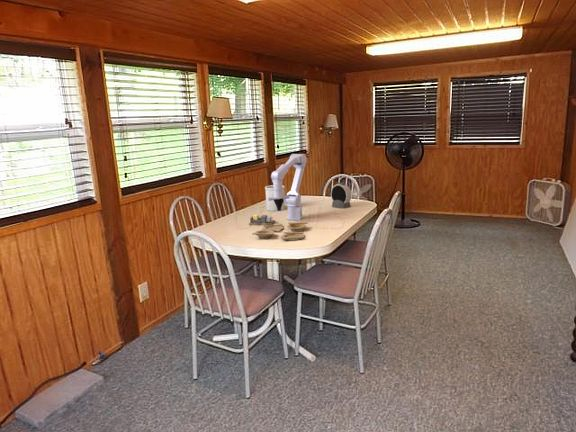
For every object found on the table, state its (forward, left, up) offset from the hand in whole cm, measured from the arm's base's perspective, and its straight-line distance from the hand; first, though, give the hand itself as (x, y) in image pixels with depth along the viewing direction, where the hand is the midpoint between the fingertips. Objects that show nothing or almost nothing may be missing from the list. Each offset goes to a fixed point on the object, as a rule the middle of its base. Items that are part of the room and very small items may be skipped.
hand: (279, 210), depth 271 cm
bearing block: (+10, 0, -9) cm, 14 cm away
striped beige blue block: (+9, 0, -7) cm, 11 cm away
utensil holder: (+14, -44, -9) cm, 47 cm away
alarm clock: (-34, -54, -9) cm, 64 cm away
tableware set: (-7, +23, -9) cm, 26 cm away
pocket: (+15, 0, -9) cm, 18 cm away
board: (+12, 0, -9) cm, 15 cm away
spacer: (+16, 0, -8) cm, 18 cm away
